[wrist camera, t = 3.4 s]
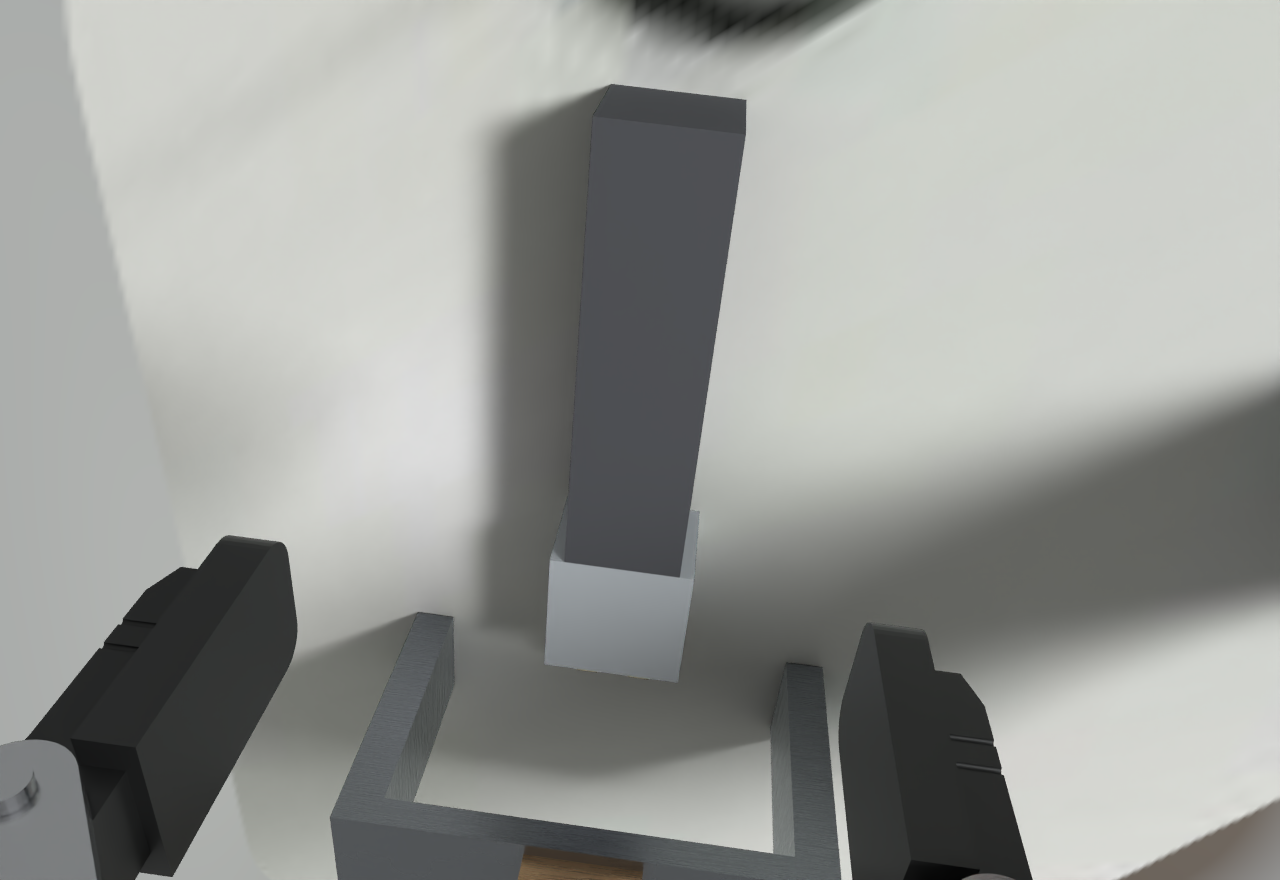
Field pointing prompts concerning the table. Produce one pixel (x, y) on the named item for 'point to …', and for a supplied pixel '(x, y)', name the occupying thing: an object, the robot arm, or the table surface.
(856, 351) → the table surface
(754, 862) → the u-shaped bracket
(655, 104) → the grey two-tone block
